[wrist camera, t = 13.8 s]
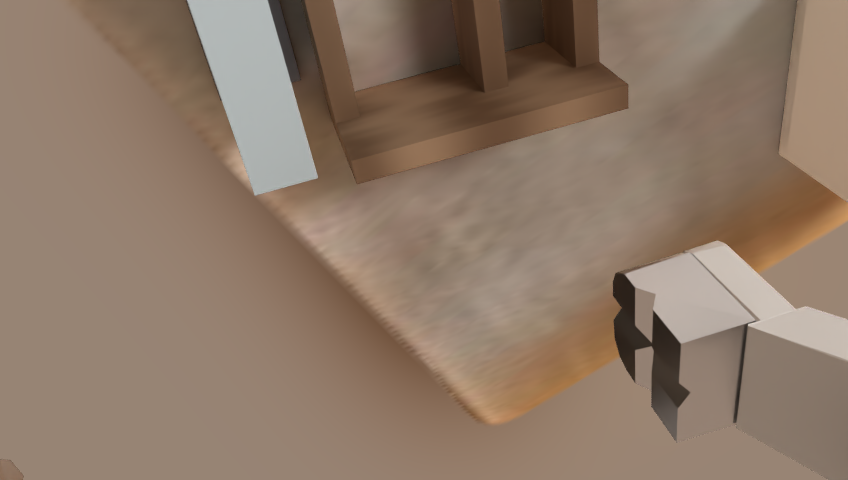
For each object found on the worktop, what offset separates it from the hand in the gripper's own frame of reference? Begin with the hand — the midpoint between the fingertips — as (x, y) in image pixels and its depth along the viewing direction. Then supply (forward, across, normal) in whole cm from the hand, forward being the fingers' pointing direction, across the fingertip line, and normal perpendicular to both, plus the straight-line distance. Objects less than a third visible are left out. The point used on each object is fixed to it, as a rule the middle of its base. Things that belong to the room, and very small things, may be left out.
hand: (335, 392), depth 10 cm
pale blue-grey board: (+29, +1, 0) cm, 29 cm away
